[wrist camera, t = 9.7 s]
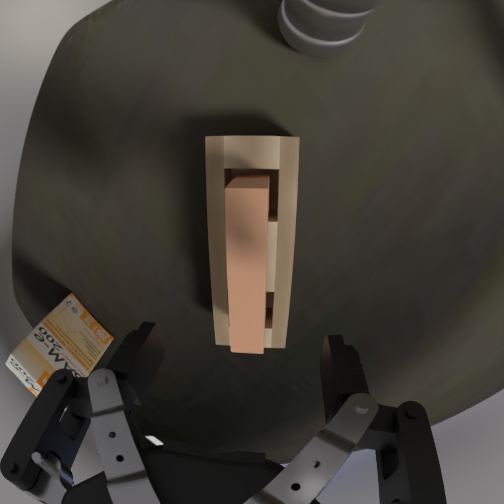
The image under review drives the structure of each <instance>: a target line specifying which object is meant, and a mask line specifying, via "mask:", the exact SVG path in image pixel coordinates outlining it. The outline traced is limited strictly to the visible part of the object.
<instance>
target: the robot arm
mask: <svg viewBox="0 0 504 504" xmlns="http://www.w3.org/2000/svg"><path fill="white" fill-rule="evenodd" d="M164 354H165V345H164V341H163V337H162V333H161V329H160V325H159V324H158V323H152V322H143V323H142V324H141V326H140V327H139V329H138V330H133V331H132V332H130V333H129V334H128V335H126V337H125V338H124V340H123V341H122V344H120V346H119V347H118V349H117V350H116V352H115V353H114V355H113V356H112V358H111V360H110V361H109V363H108V364H107V366H106V367H105V369H99V370H96V371H94V372H93V373H92V374H91V375H90V376H89V377H75V376H74V375H73V373H72V371H71V370H69V369H66V368H62V369H58V370H56V371H55V372H53V373H52V375H51V376H50V378H49V379H48V381H47V382H46V384H45V385H44V387H43V388H42V390H41V391H40V393H39V394H38V396H37V398H36V399H35V401H34V402H33V404H32V406H31V407H30V409H29V411H28V412H27V414H26V416H25V417H24V419H23V421H22V422H21V424H20V426H19V428H18V429H17V431H16V433H15V435H14V437H13V438H12V440H11V442H10V444H9V446H8V448H7V450H6V452H5V454H4V456H3V458H2V460H1V463H0V469H1V473H2V475H3V476H4V477H5V478H6V479H7V480H9V481H10V482H11V483H13V484H14V485H16V487H18V488H19V489H20V490H22V491H23V492H25V493H26V494H28V495H29V496H31V497H32V498H34V499H37V500H38V501H40V502H42V503H43V504H320V503H319V502H318V501H317V500H316V497H317V496H318V495H319V494H320V493H321V492H322V491H323V489H324V488H325V487H326V486H327V485H328V483H329V482H330V481H331V479H332V478H333V477H334V476H335V475H336V473H337V472H338V471H339V469H340V468H341V467H342V465H343V464H344V463H345V461H346V460H347V458H348V457H349V456H350V455H351V453H352V452H353V450H354V449H355V447H361V448H367V449H373V450H376V461H377V470H378V482H379V498H380V504H447V503H446V496H445V490H444V484H443V479H442V474H441V469H440V464H439V460H438V455H437V451H436V447H435V443H434V439H433V435H432V431H431V427H430V424H429V420H428V417H427V413H426V411H425V409H424V407H423V406H422V405H421V404H419V403H417V402H414V401H407V402H404V403H402V404H401V405H400V406H399V407H398V408H396V407H390V406H384V405H381V404H379V403H378V402H377V401H376V399H375V398H374V397H372V396H371V395H370V394H369V390H368V387H367V383H366V379H365V375H364V372H363V369H362V364H361V363H360V357H359V354H358V352H357V351H356V350H355V348H354V347H353V346H352V345H344V341H343V337H342V335H326V336H325V340H324V345H323V349H322V354H321V359H320V374H321V382H322V391H323V400H324V409H325V419H326V425H327V426H326V427H325V429H324V430H323V431H319V432H318V433H317V434H316V435H315V436H314V438H313V439H312V440H311V441H310V442H309V443H308V444H307V445H306V446H305V448H304V449H303V450H302V451H301V452H300V453H299V454H298V455H297V456H296V457H295V458H294V459H293V460H292V461H291V462H290V463H289V464H288V465H287V467H283V466H282V465H280V464H278V463H276V462H273V461H271V460H267V459H265V454H266V453H255V452H242V451H238V452H228V453H216V454H213V453H209V452H206V451H204V450H201V449H199V448H196V447H194V446H192V445H189V444H185V443H180V442H175V441H170V440H166V439H165V441H164V444H163V445H158V446H151V447H148V448H147V446H146V444H145V442H144V440H143V438H142V436H141V433H140V430H139V428H138V425H137V423H136V420H135V417H134V414H133V412H132V409H131V407H132V405H133V403H134V404H138V405H142V403H143V401H144V399H145V396H146V394H147V392H148V390H149V388H150V386H151V383H152V381H153V379H154V377H155V375H156V373H157V370H158V368H159V366H160V364H161V362H162V360H163V358H164ZM65 408H67V409H66V411H65V413H64V415H63V417H62V419H61V421H60V418H61V416H62V414H63V412H64V410H65ZM59 421H60V423H59ZM90 423H92V427H93V432H94V436H95V440H96V444H97V448H98V451H99V455H100V458H101V462H102V465H103V468H104V471H102V472H101V473H99V474H97V475H95V476H93V477H91V478H89V479H87V480H85V481H83V482H81V483H79V484H77V485H74V482H73V475H72V472H71V470H70V469H71V467H72V464H73V462H74V459H75V457H76V455H77V452H78V450H79V448H80V445H81V443H82V441H83V439H84V436H85V434H86V432H87V430H88V428H89V425H90Z"/></svg>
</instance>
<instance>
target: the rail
mask: <svg viewBox="0 0 504 504" xmlns="http://www.w3.org/2000/svg"><path fill="white" fill-rule="evenodd" d="M205 150H206V193H207V220H208V241H209V259H210V275H211V290H212V303H213V316H214V328H215V339H216V344H219V345H231V341H230V323H229V303H228V280H227V254H226V222H225V187H226V186H227V185H228V184H229V183H230V182H231V181H232V180H233V179H234V178H235V177H236V176H237V175H238V174H239V173H240V172H248V173H270V186H269V211H268V239H267V275H266V292H267V298H266V316H265V333H264V347H266V348H285V343H286V334H287V324H288V314H289V303H290V292H291V280H292V268H293V255H294V241H295V225H296V208H297V188H298V163H299V137H285V136H206V137H205Z"/></svg>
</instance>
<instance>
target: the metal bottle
mask: <svg viewBox="0 0 504 504" xmlns="http://www.w3.org/2000/svg"><path fill="white" fill-rule="evenodd" d="M383 1H384V0H282V2H281V5H280V7H279V10H278V14H277V22H278V25H279V29H280V31H281V33H282V35H283V37H284V39H285V40H286V41H287V43H288V44H289V45H290V46H291V47H293V48H294V49H295V50H297V51H299V52H300V53H303V54H305V55H308V56H312V57H319V58H326V57H333V56H336V55H339V54H341V53H343V52H345V51H347V50H349V49H351V48H352V47H353V46H354V45H355V44H356V43H357V42H358V40H359V38H360V36H361V34H362V32H363V29H364V26H365V23H366V21H367V19H368V18H369V16H370V14H371V13H372V11H373V10H374V9H375V8H376V7H377V6H378V5H380V4H381V3H382V2H383Z"/></svg>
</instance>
